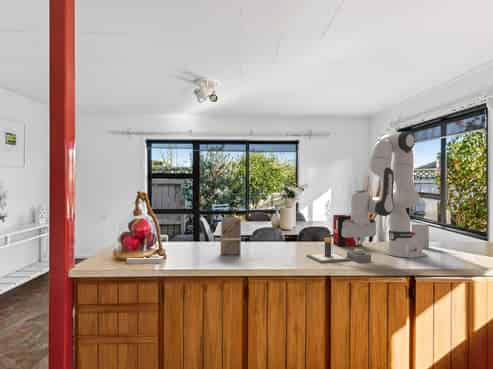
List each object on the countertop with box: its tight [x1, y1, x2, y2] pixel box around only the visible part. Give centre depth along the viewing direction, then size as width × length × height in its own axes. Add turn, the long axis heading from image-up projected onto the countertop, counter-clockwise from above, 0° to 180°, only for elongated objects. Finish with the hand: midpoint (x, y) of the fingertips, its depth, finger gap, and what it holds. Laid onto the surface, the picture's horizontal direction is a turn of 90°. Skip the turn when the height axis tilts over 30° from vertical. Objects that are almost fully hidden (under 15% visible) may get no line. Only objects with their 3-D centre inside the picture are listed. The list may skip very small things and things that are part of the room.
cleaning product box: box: [332, 214, 363, 248], centre depth 231 cm, size 16×9×20 cm, turn 98°
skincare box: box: [411, 222, 430, 250], centre depth 225 cm, size 8×7×16 cm
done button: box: [353, 248, 364, 255], centre depth 189 cm, size 5×5×3 cm
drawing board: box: [306, 252, 351, 264], centre depth 192 cm, size 18×16×1 cm
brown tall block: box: [220, 211, 242, 257], centre depth 199 cm, size 8×12×26 cm
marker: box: [324, 237, 332, 257], centre depth 191 cm, size 4×4×10 cm
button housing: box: [346, 251, 372, 263], centre depth 189 cm, size 9×9×4 cm
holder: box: [126, 254, 165, 264], centre depth 202 cm, size 45×18×3 cm, turn 5°
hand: (358, 245), depth 189 cm, fingers closed
